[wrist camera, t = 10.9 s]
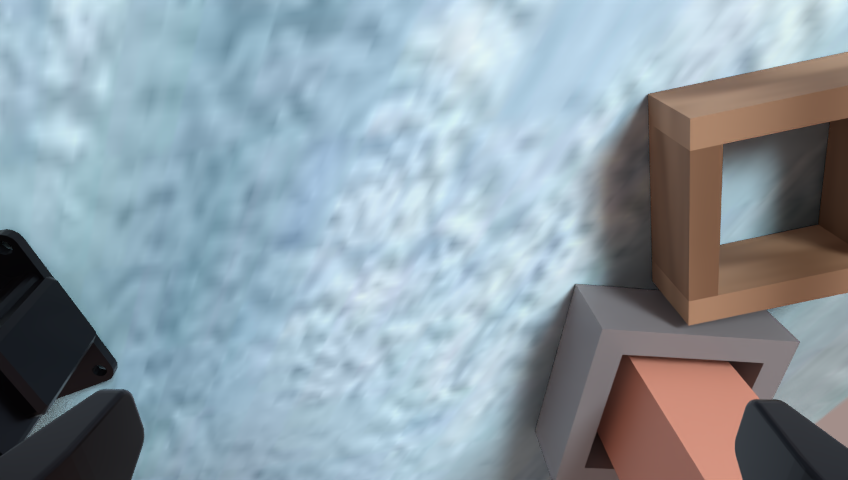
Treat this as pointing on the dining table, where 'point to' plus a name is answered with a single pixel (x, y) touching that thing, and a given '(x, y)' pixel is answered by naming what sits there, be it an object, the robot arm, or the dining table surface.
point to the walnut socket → (702, 187)
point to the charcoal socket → (644, 336)
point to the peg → (674, 419)
